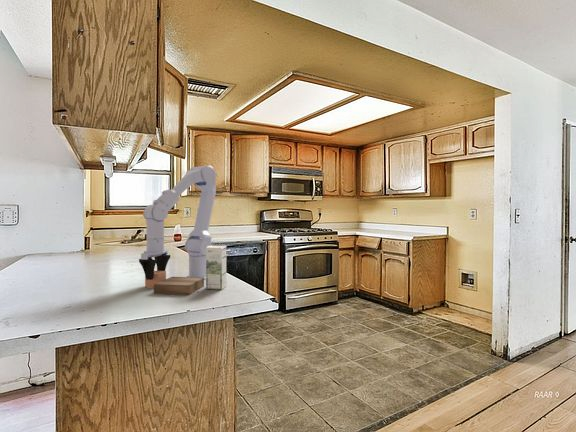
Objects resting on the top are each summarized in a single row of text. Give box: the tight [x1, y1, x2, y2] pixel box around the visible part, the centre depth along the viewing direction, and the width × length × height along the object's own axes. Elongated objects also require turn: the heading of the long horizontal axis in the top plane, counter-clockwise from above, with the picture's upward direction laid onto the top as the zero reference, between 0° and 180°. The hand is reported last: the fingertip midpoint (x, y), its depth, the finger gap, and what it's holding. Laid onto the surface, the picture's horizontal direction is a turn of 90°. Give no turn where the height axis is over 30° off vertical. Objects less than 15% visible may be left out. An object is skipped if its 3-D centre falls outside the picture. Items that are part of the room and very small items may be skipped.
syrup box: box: [205, 244, 227, 290], centre depth 115 cm, size 6×6×14 cm
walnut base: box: [153, 276, 205, 296], centre depth 112 cm, size 12×12×3 cm
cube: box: [144, 270, 167, 289], centre depth 117 cm, size 5×5×5 cm
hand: (155, 277), depth 117 cm, fingers open, 7 cm apart
